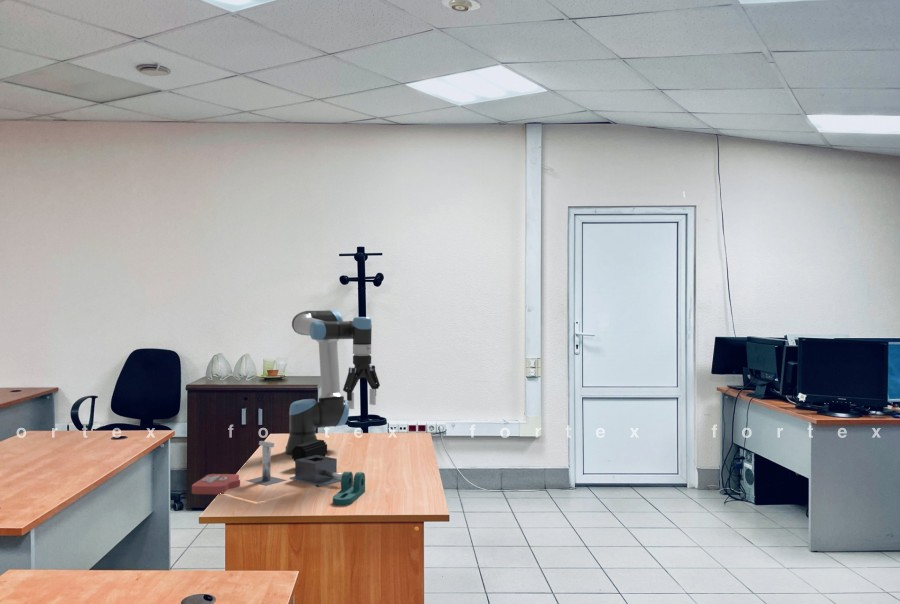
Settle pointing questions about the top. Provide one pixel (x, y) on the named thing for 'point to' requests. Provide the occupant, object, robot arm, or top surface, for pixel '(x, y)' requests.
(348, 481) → the bracket
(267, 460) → the silver grey long piece
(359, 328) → the robot arm
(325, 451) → the security camera
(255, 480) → the mat
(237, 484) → the plaque
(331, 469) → the hollow square block
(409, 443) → the top surface
